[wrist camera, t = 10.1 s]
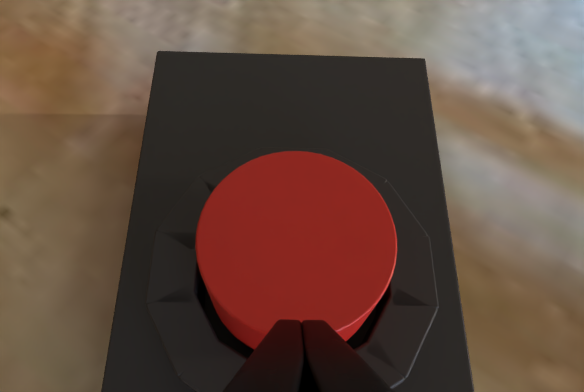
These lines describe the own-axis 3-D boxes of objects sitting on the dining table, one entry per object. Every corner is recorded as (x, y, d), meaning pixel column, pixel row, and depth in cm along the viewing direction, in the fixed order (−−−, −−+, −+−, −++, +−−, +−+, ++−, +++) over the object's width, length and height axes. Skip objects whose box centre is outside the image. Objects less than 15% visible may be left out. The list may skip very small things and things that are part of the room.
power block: (436, 433, 17) (513, 426, 11) (133, 431, 16) (66, 423, 11) (400, 120, 22) (441, 16, 17) (175, 114, 22) (144, 7, 17)
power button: (382, 360, 12) (407, 340, 10) (201, 358, 12) (184, 338, 10) (370, 199, 14) (389, 151, 12) (214, 196, 14) (203, 147, 12)
